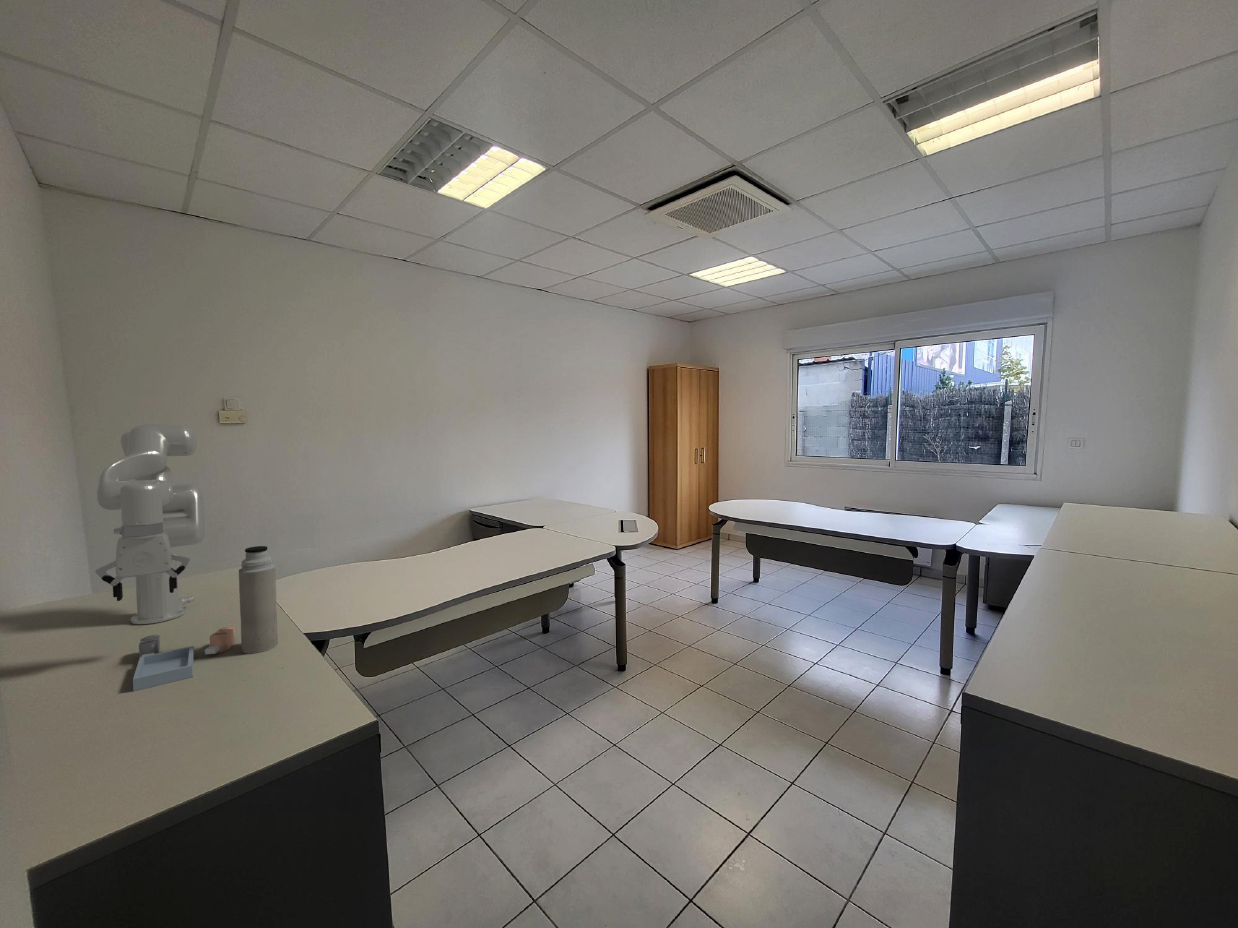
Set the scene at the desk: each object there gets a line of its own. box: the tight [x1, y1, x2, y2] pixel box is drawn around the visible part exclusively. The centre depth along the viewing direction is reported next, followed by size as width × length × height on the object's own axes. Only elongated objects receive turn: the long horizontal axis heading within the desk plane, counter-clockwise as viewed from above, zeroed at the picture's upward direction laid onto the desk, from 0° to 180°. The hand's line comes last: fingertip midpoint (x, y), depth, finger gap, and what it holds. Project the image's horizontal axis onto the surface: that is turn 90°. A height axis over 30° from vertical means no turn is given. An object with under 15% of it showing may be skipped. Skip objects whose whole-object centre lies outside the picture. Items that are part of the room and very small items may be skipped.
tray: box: [132, 645, 195, 692], centre depth 116 cm, size 14×10×3 cm
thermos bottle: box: [238, 545, 279, 655], centre depth 130 cm, size 8×8×28 cm
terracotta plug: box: [204, 626, 236, 655], centre depth 129 cm, size 10×4×4 cm, turn 15°
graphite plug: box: [138, 634, 161, 659], centre depth 123 cm, size 10×4×4 cm, turn 41°
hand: (146, 595), depth 123 cm, fingers open, 9 cm apart
